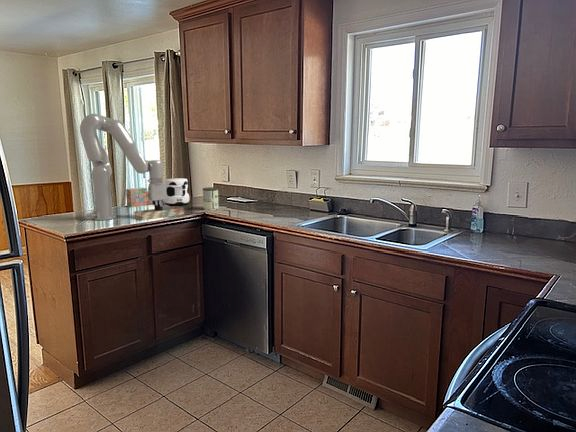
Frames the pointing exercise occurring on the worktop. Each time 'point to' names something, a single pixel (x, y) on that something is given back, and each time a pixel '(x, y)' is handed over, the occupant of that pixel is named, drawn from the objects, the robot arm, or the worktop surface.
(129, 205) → the stack of blocks
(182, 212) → the lane
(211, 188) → the coffee can
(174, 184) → the milk container
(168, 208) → the block
